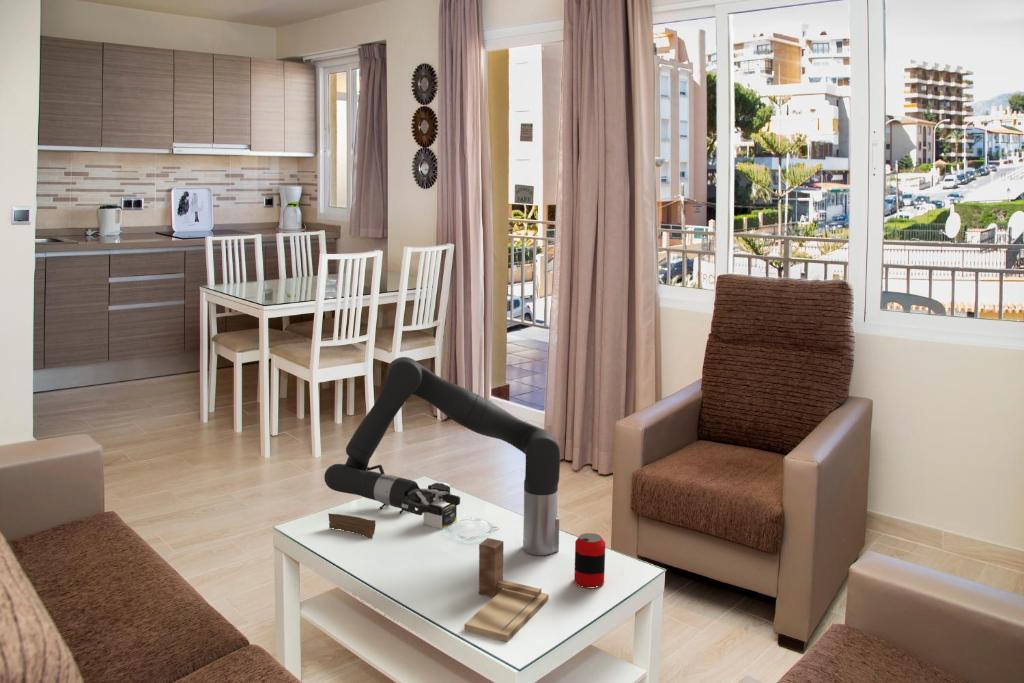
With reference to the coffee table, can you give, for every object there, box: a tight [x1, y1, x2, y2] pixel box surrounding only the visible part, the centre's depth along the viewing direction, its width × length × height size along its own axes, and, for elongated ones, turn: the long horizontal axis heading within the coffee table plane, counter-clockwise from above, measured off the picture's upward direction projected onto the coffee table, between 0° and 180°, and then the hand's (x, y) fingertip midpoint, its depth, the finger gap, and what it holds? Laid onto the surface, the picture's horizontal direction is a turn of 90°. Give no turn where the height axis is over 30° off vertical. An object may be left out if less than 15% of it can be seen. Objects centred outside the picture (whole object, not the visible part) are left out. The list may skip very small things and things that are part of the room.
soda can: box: [573, 532, 606, 588], centre depth 223 cm, size 8×8×12 cm
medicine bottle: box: [423, 482, 458, 530], centre depth 260 cm, size 7×7×12 cm
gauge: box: [478, 537, 542, 599], centre depth 215 cm, size 15×4×13 cm, turn 64°
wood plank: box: [327, 512, 376, 540], centre depth 252 cm, size 15×2×5 cm, turn 68°
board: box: [463, 588, 550, 643], centre depth 207 cm, size 22×11×2 cm, turn 153°
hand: (451, 506), depth 219 cm, fingers open, 8 cm apart
